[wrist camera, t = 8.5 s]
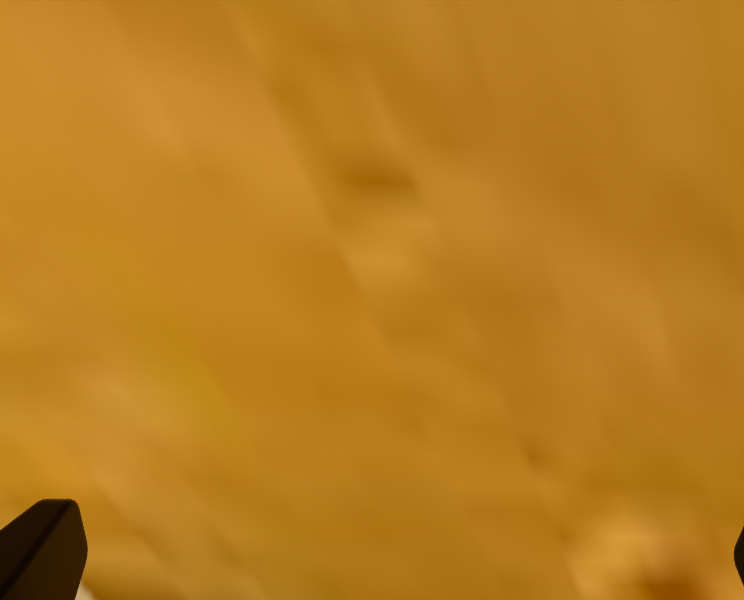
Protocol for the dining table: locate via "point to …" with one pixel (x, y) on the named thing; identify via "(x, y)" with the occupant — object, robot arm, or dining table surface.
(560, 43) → the dining table surface
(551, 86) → the dining table surface
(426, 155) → the dining table surface
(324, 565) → the dining table surface
